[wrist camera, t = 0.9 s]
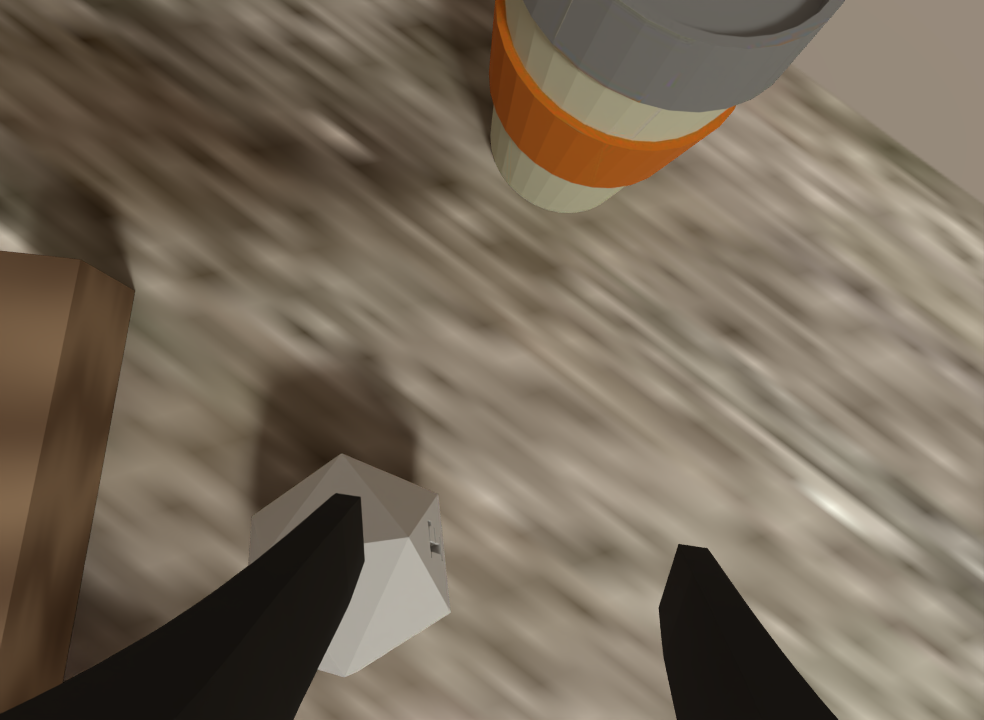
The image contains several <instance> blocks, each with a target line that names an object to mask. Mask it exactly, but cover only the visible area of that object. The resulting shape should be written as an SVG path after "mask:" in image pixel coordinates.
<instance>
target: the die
mask: <svg viewBox="0 0 984 720" xmlns="http://www.w3.org/2000/svg"><path fill="white" fill-rule="evenodd" d="M335 493H339V494H346V495H353V496H359V497H361V506H362V522H363V538H364V554H365V562H364V565H363V568H362V571H361V573H360V576H359V579H358V582H357V585H356V588H355V590H354V593H353V596H352V599H351V601H350V604H349V606H348V608H347V610H346V612H345V614H344V617H343V619H342V621H341V623H340V625H339V627H338V629H337V631H336V633H335V635H334V637H333V639H332V641H331V643H330V645H329V647H328V649H327V651H326V653H325V655H324V657H323V659H322V661H321V663H320V665H319V668H318V670H321V671H324V672H328V673H331V674H335V675H338V676H342V677H346V676H349V675H351V674H353V673H355V672H358V671H359V670H361V669H362V668H364V667H365V666H367V665H369V664H370V663H372V662H373V661H375V660H376V659H378V658H380V657H381V656H383V655H384V654H386V653H388V652H389V651H391V650H392V649H394V648H395V647H397V646H399V645H400V644H402V643H403V642H405V641H406V640H408V639H410V638H411V637H413V636H414V635H416V634H418V633H419V632H421V631H422V630H424V629H425V628H427V627H429V626H430V625H432V624H433V623H435V622H436V621H438V620H440V619H441V618H443V617H444V616H446V615H448V614H449V613H451V610H450V601H449V591H448V582H447V573H446V563H445V554H444V544H443V535H442V525H441V516H440V507H439V497H438V494H437V493H435V492H433V491H430V490H428V489H425V488H423V487H421V486H418V485H416V484H414V483H411V482H409V481H406V480H404V479H402V478H399V477H397V476H395V475H392V474H390V473H387V472H385V471H383V470H380V469H378V468H376V467H373V466H371V465H368V464H366V463H364V462H361V461H359V460H356V459H354V458H352V457H349V456H347V455H345V454H342V453H341V454H340V455H338V456H337V457H335V458H334V459H333V460H331V461H330V462H328V463H327V464H325V465H324V466H323V467H321V468H320V469H318V470H317V471H315V472H314V473H313V474H311V475H310V476H308V477H307V478H306V479H304V480H303V481H301V482H300V483H298V484H297V485H296V486H294V487H293V488H291V489H290V490H288V491H287V492H286V493H284V494H283V495H281V496H280V497H278V498H277V499H276V500H274V501H273V502H271V503H270V504H269V505H267V506H266V507H264V508H263V509H261V510H260V511H259V512H257V513H256V514H254V515H253V516H252V520H251V534H250V548H249V562H248V566H249V565H250V564H251V563H253V562H254V561H255V560H256V559H258V558H259V557H260V556H261V555H263V554H264V553H265V552H266V551H267V550H269V549H270V548H271V547H272V546H274V545H275V544H276V543H277V542H278V541H280V540H281V539H282V538H283V537H285V536H286V535H287V534H288V533H289V532H290V531H292V530H293V529H294V528H295V527H296V526H297V525H299V524H300V523H301V522H302V521H303V520H304V519H306V518H307V517H308V516H309V515H310V514H311V513H313V512H314V511H315V510H316V509H317V508H318V507H319V506H321V505H322V504H323V503H324V502H325V501H326V500H328V499H329V498H330V497H331V496H332V495H334V494H335Z"/></svg>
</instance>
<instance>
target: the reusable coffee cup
mask: <svg viewBox="0 0 984 720" xmlns="http://www.w3.org/2000/svg"><path fill="white" fill-rule="evenodd" d="M844 1H845V0H495V9H494V21H493V32H492V44H491V55H490V67H489V80H490V93H491V96H492V100H493V103H494V106H493V115H492V124H491V133H490V138H491V150H492V153H493V157H494V160H495V163H496V165H497V167H498V169H499V171H500V173H501V175H502V176H503V178H504V179H505V180H506V182H507V183H508V184H509V186H510V187H511V188H512V189H514V190H515V191H516V192H517V193H518V194H519V195H520V196H521V197H523V198H524V199H526V200H527V201H529V202H531V203H532V204H534V205H536V206H539V207H541V208H544V209H546V210H550V211H555V212H560V213H576V212H581V211H587V210H589V209H592V208H594V207H597V206H599V205H600V204H602V203H603V202H604V201H606V200H607V199H609V198H610V197H611V196H613V195H614V194H615V193H617V192H618V191H619V190H621V189H622V188H623V187H625V186H628V185H632V184H635V183H637V182H640V181H642V180H644V179H647V178H649V177H650V176H651V175H653V174H654V173H656V172H657V171H659V170H660V169H661V168H663V167H664V166H666V165H667V164H668V163H670V162H671V161H673V160H674V159H675V158H677V157H678V156H679V155H681V154H682V153H684V152H685V151H686V150H688V149H689V148H691V147H692V146H693V145H695V144H696V143H697V142H699V141H700V140H702V139H703V138H704V137H706V136H707V135H709V134H710V133H711V132H713V131H714V130H715V129H717V128H718V127H720V125H721V124H722V123H723V122H724V121H725V120H726V119H727V117H728V116H729V115H730V114H731V113H732V112H733V111H734V109H735V107H736V105H738V104H741V103H743V102H746V101H748V100H751V99H753V98H754V97H756V96H757V95H759V94H760V93H762V92H763V91H764V90H766V89H767V88H769V87H770V86H772V85H773V84H774V83H775V81H776V80H777V79H778V78H779V77H780V76H781V74H782V73H783V72H784V71H785V70H786V69H787V68H788V66H789V65H790V64H791V63H792V62H793V61H794V59H795V58H796V57H797V56H798V55H799V54H800V52H801V51H802V50H803V49H804V48H805V47H806V46H807V44H808V43H809V42H810V41H811V40H812V39H813V37H814V36H815V35H816V34H817V33H818V32H819V30H820V29H821V28H822V27H823V26H824V25H825V23H826V22H827V21H828V20H829V19H830V18H831V17H832V15H833V14H834V13H835V12H836V11H837V10H838V9H839V7H840V6H841V5H842V4H843V2H844Z"/></svg>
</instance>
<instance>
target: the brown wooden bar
mask: <svg viewBox="0 0 984 720" xmlns="http://www.w3.org/2000/svg"><path fill="white" fill-rule="evenodd" d="M134 293H135V291H134V290H132V289H131V288H129V287H127V286H126V285H124V284H122V283H120V282H119V281H117V280H115V279H113V278H112V277H110V276H108V275H106V274H105V273H103V272H101V271H99V270H98V269H96V268H94V267H93V266H91V265H89V264H87V263H86V262H84V261H82V260H80V259H71V258H62V257H53V256H44V255H35V254H25V253H16V252H7V251H0V713H3V712H5V711H7V710H9V709H11V708H13V707H15V706H17V705H19V704H22V703H24V702H26V701H28V700H30V699H32V698H34V697H36V696H38V695H40V694H42V693H44V692H46V691H48V690H50V689H52V688H54V687H56V686H58V685H60V684H61V683H63V678H64V672H65V667H66V661H67V656H68V651H69V645H70V640H71V634H72V629H73V624H74V618H75V613H76V607H77V602H78V596H79V591H80V586H81V580H82V575H83V569H84V564H85V559H86V553H87V548H88V542H89V537H90V532H91V526H92V521H93V515H94V510H95V505H96V499H97V494H98V488H99V483H100V477H101V472H102V467H103V461H104V456H105V450H106V445H107V440H108V434H109V429H110V423H111V418H112V413H113V407H114V402H115V396H116V391H117V385H118V380H119V375H120V369H121V364H122V358H123V353H124V348H125V342H126V337H127V331H128V326H129V321H130V315H131V310H132V304H133V299H134Z"/></svg>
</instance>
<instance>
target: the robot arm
mask: <svg viewBox="0 0 984 720" xmlns="http://www.w3.org/2000/svg"><path fill="white" fill-rule="evenodd" d="M364 562H365V554H364V538H363V522H362V506H361V497H359V496H353V495H346V494H339V493H335V494H334V495H332V496H331V497H330V498H329V499H328V500H326V501H325V502H324V503H323V504H322V505H321V506H319V507H318V508H317V509H316V510H315V511H314V512H313V513H311V514H310V515H309V516H308V517H307V518H306V519H304V520H303V521H302V522H301V523H300V524H299V525H297V526H296V527H295V528H294V529H293V530H292V531H290V532H289V533H288V534H287V535H286V536H285V537H283V538H282V539H281V540H280V541H278V542H277V543H276V544H275V545H274V546H272V547H271V548H270V549H269V550H267V551H266V552H265V553H264V554H263V555H261V556H260V557H259V558H258V559H256V560H255V561H254V562H253V563H251V564H250V565H249V566H247V567H246V568H245V569H243V570H242V571H241V572H239V573H238V574H237V575H235V576H234V577H233V578H231V579H230V580H229V581H227V582H226V583H225V584H223V585H222V586H221V587H219V588H218V589H217V590H215V591H214V592H213V593H211V594H210V595H208V596H207V597H205V598H204V599H203V600H201V601H200V602H198V603H197V604H195V605H194V606H192V607H191V608H190V609H188V610H187V611H185V612H183V613H182V614H180V615H179V616H177V617H176V618H174V619H173V620H171V621H170V622H168V623H167V624H165V625H164V626H162V627H160V628H159V629H157V630H155V631H154V632H152V633H150V634H149V635H147V636H145V637H144V638H142V639H140V640H139V641H137V642H135V643H133V644H132V645H130V646H128V647H127V648H125V649H123V650H121V651H120V652H118V653H116V654H115V655H113V656H111V657H109V658H108V659H106V660H104V661H103V662H101V663H99V664H97V665H95V666H94V667H92V668H90V669H88V670H86V671H84V672H82V673H80V674H79V675H77V676H75V677H73V678H71V679H69V680H67V681H65V682H63V683H61V684H60V685H58V686H56V687H54V688H52V689H50V690H48V691H46V692H44V693H42V694H40V695H38V696H36V697H34V698H32V699H30V700H28V701H26V702H24V703H22V704H19V705H17V706H15V707H13V708H11V709H9V710H7V711H5V712H3V713H0V720H294V717H295V715H296V713H297V711H298V708H299V706H300V704H301V702H302V700H303V698H304V696H305V694H306V692H307V690H308V688H309V686H310V684H311V682H312V680H313V678H314V676H315V674H316V672H317V670H318V668H319V665H320V663H321V661H322V659H323V657H324V655H325V653H326V651H327V649H328V647H329V645H330V643H331V641H332V639H333V637H334V635H335V633H336V631H337V629H338V627H339V625H340V623H341V621H342V619H343V617H344V614H345V612H346V610H347V608H348V606H349V604H350V601H351V599H352V596H353V593H354V590H355V588H356V585H357V582H358V579H359V576H360V573H361V571H362V568H363V565H364ZM659 617H660V628H661V638H662V647H663V656H664V662H665V666H666V671H667V676H668V681H669V685H670V690H671V695H672V700H673V704H674V709H675V713H676V718H677V720H838V719H837V717H836V716H835V715H834V714H833V713H832V712H831V711H830V709H829V708H828V707H827V706H826V705H825V704H824V702H823V701H822V700H821V699H820V698H819V697H818V695H817V694H816V693H815V692H814V690H813V689H812V688H811V687H810V686H809V684H808V683H807V682H806V681H805V679H804V678H803V677H802V676H801V675H800V673H799V672H798V671H797V670H796V668H795V667H794V666H793V665H792V663H791V662H790V661H789V660H788V658H787V657H786V656H785V654H784V653H783V652H782V651H781V649H780V648H779V647H778V645H777V644H776V643H775V641H774V640H773V639H772V637H771V636H770V635H769V633H768V632H767V631H766V629H765V628H764V627H763V625H762V624H761V623H760V621H759V620H758V619H757V617H756V616H755V615H754V613H753V612H752V610H751V609H750V608H749V606H748V605H747V604H746V602H745V601H744V599H743V598H742V596H741V595H740V594H739V592H738V591H737V589H736V588H735V587H734V585H733V584H732V582H731V581H730V579H729V578H728V577H727V575H726V574H725V572H724V571H723V569H722V568H721V566H720V565H719V564H718V562H717V561H716V559H715V558H714V556H713V555H712V554H711V552H710V551H709V550H708V548H702V547H696V546H689V545H682V544H678V548H677V551H676V554H675V557H674V560H673V564H672V567H671V570H670V573H669V576H668V580H667V583H666V586H665V589H664V592H663V596H662V599H661V602H660V605H659Z"/></svg>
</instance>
